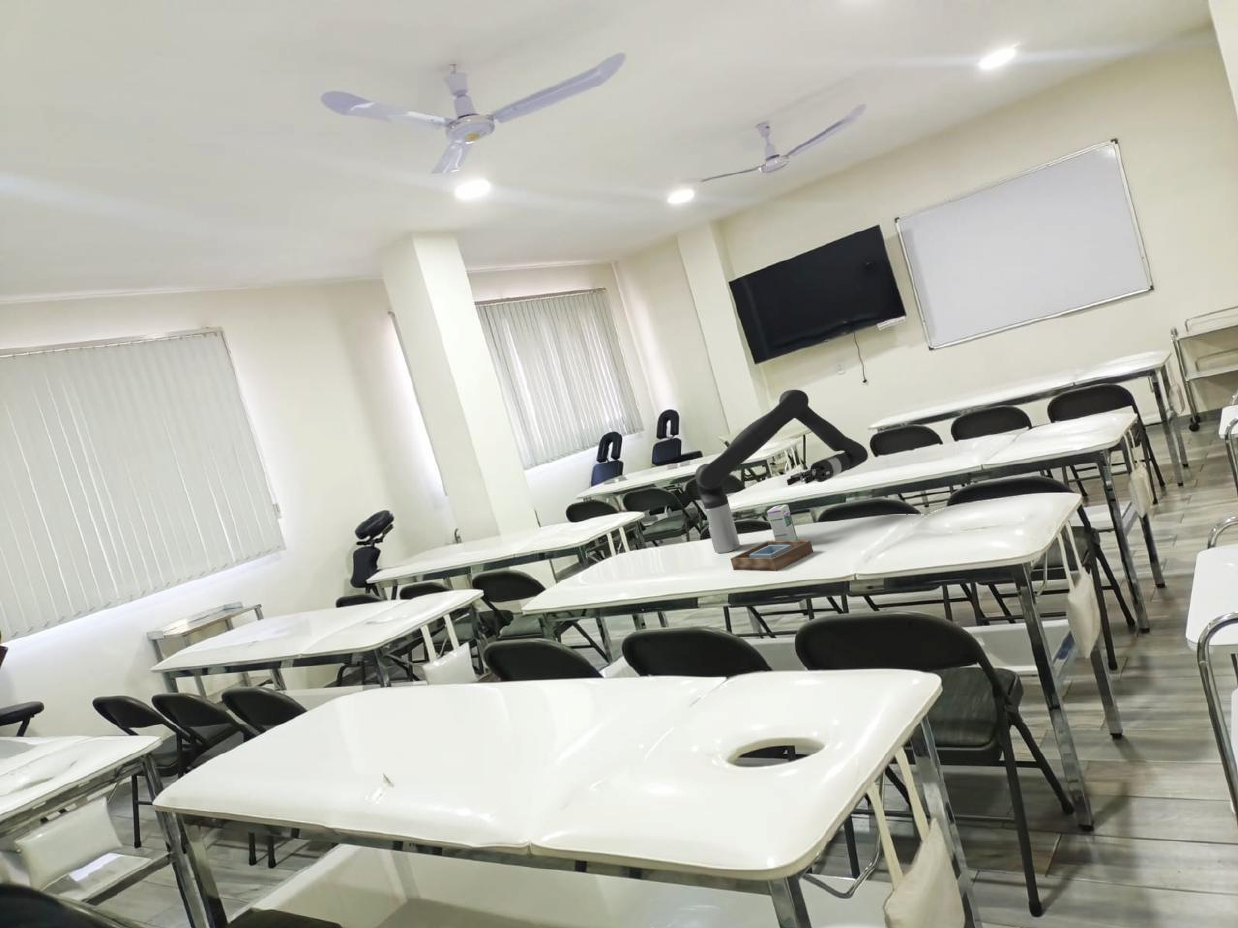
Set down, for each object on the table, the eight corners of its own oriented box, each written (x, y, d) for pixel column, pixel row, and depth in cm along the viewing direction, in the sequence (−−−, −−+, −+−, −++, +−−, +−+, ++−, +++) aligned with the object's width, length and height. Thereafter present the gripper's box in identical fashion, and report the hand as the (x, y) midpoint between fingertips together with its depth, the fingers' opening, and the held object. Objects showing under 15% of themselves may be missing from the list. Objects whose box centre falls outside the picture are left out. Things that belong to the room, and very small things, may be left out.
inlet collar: (751, 563, 271) (749, 554, 271) (771, 553, 277) (769, 544, 277) (772, 563, 263) (770, 554, 263) (793, 553, 269) (791, 544, 268)
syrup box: (792, 548, 280) (781, 508, 279) (777, 550, 284) (766, 510, 283) (799, 543, 285) (788, 503, 284) (784, 545, 288) (773, 505, 287)
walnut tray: (733, 569, 273) (730, 558, 273) (770, 552, 283) (767, 541, 283) (776, 571, 257) (772, 558, 257) (813, 552, 267) (810, 540, 267)
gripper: (808, 461, 304) (779, 473, 295) (838, 457, 292) (808, 469, 283) (814, 480, 304) (784, 493, 295) (843, 477, 293) (814, 490, 284)
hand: (796, 481), depth 289 cm, fingers open, 8 cm apart
